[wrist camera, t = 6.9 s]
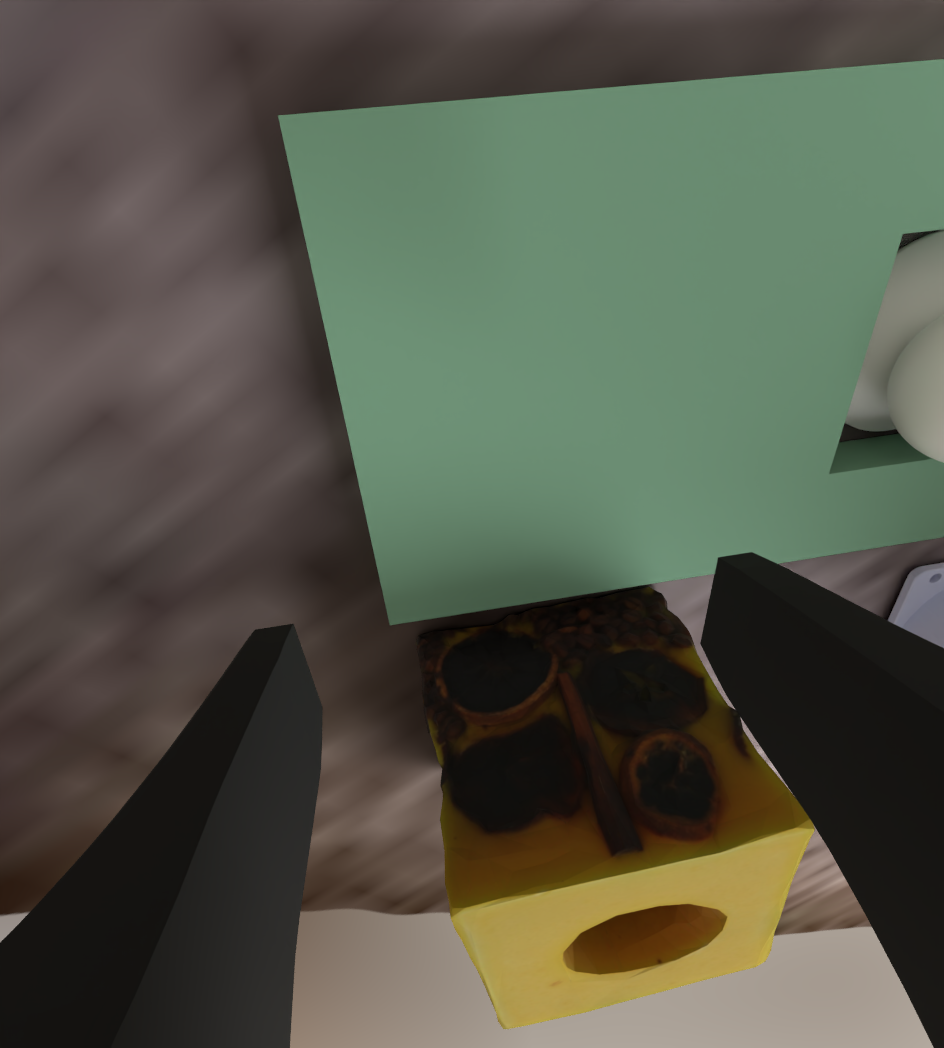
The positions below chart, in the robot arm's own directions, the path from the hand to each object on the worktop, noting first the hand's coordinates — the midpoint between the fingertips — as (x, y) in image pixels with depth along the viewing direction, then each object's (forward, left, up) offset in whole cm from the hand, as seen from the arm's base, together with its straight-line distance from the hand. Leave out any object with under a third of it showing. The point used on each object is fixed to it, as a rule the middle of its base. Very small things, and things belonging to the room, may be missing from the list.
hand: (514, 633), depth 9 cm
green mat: (-9, -1, -9) cm, 13 cm away
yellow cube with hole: (-3, +13, -10) cm, 16 cm away
